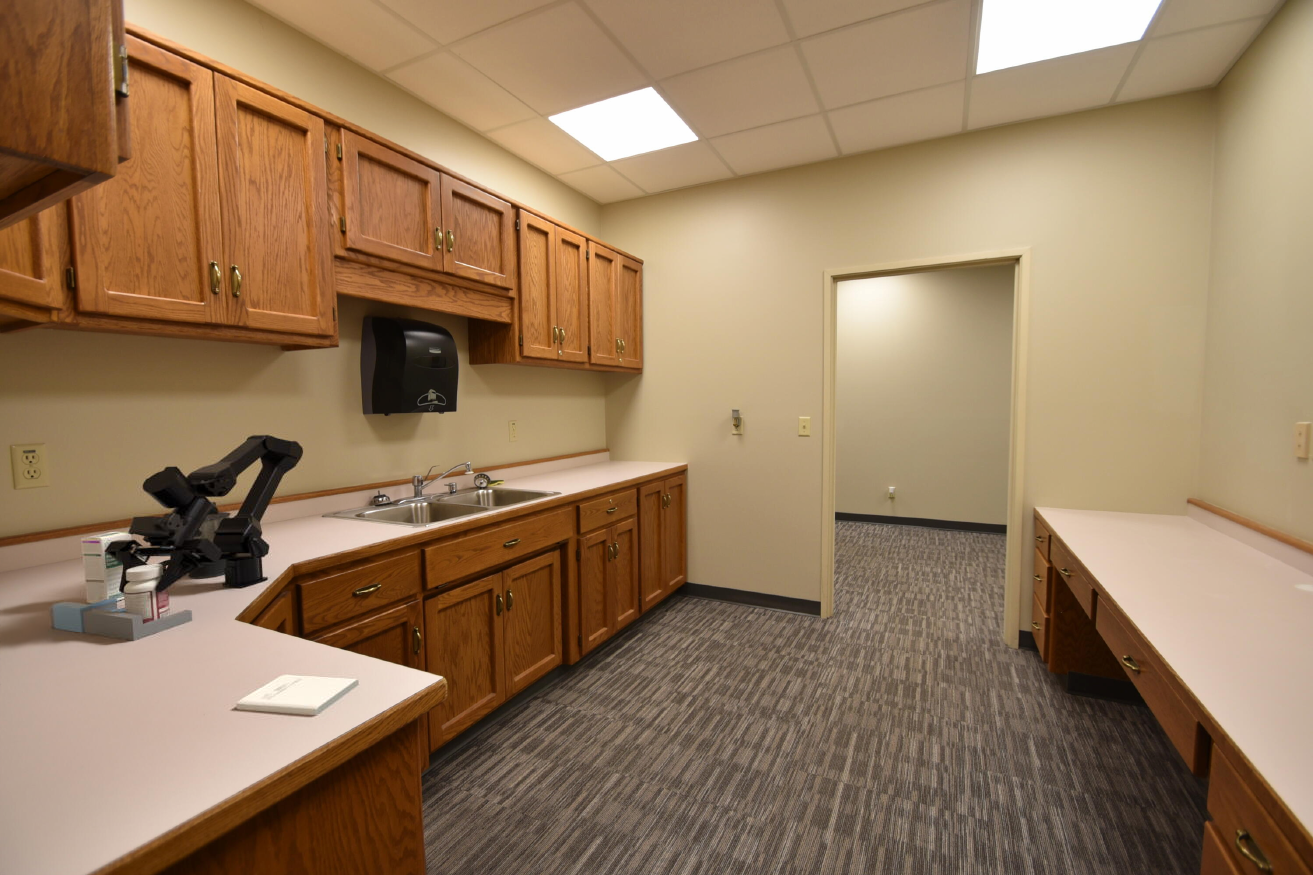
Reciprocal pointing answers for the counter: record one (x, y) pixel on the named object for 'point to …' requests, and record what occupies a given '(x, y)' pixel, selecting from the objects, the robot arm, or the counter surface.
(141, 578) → the pill bottle
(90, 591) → the syrup box
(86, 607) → the divider rack
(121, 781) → the counter surface
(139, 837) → the counter surface
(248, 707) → the external hard drive
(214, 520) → the milk frother
